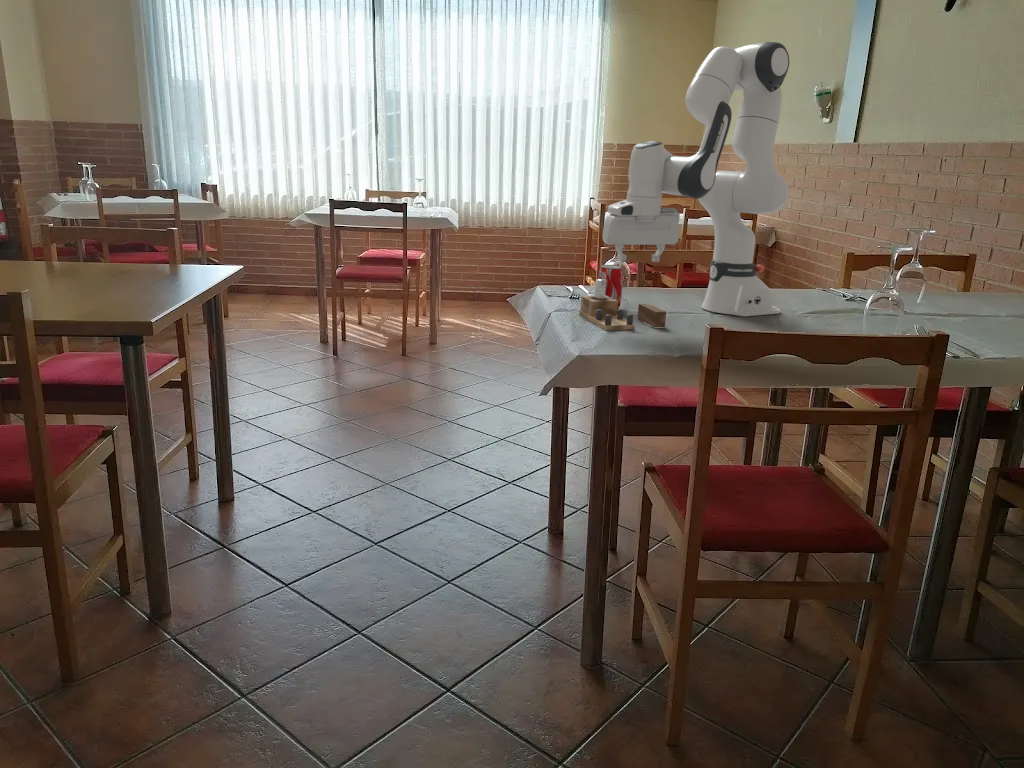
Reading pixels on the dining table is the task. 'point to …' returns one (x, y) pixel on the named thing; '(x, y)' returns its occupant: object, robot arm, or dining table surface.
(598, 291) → the pin
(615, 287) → the soda can
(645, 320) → the bar
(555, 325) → the dining table surface
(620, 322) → the board
